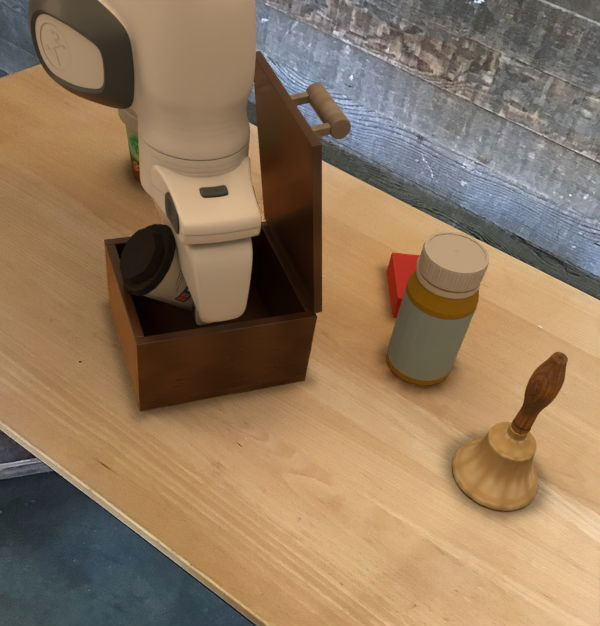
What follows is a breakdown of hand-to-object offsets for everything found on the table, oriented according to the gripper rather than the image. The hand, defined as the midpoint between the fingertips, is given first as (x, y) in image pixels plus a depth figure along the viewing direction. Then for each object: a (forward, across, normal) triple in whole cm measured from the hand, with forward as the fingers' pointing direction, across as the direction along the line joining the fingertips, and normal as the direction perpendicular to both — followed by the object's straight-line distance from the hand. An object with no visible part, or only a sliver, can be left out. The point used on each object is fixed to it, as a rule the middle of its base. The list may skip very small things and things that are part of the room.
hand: (191, 291), depth 73 cm
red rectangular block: (+8, -2, +28) cm, 29 cm away
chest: (+7, 0, +2) cm, 8 cm away
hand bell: (+8, +23, +23) cm, 34 cm away
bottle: (+8, +8, +22) cm, 25 cm away
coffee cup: (+1, 0, +3) cm, 3 cm away
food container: (+7, -29, +4) cm, 30 cm away
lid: (-11, 0, +8) cm, 13 cm away
